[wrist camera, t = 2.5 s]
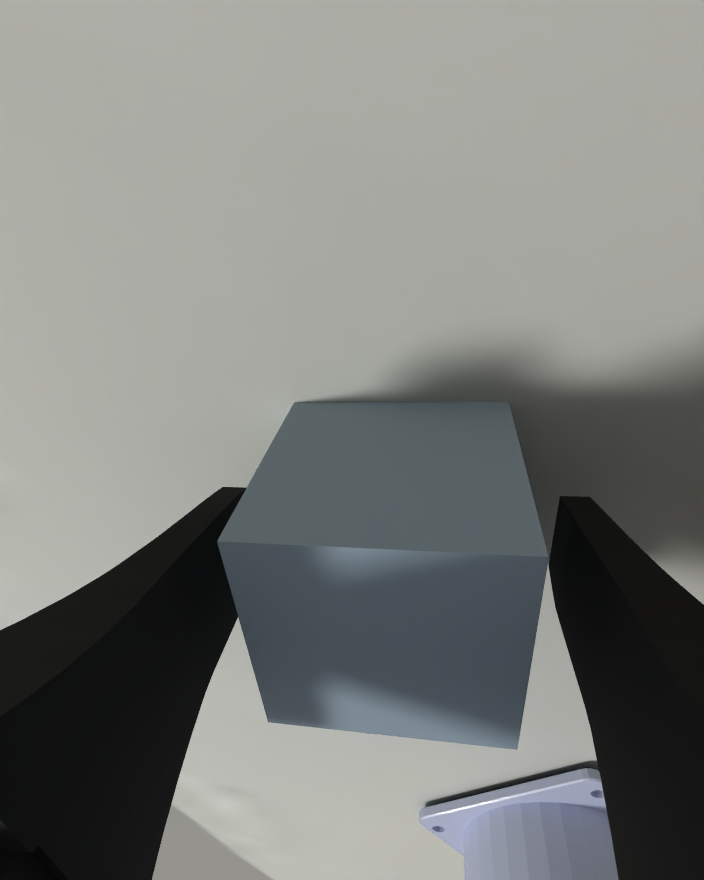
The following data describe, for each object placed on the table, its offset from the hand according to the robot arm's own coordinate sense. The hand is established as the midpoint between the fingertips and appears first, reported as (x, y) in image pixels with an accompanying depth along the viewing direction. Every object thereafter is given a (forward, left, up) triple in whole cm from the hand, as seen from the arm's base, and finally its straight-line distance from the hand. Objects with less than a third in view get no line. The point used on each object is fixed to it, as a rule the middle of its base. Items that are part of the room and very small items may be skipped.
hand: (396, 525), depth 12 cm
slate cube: (0, 0, -2) cm, 2 cm away
